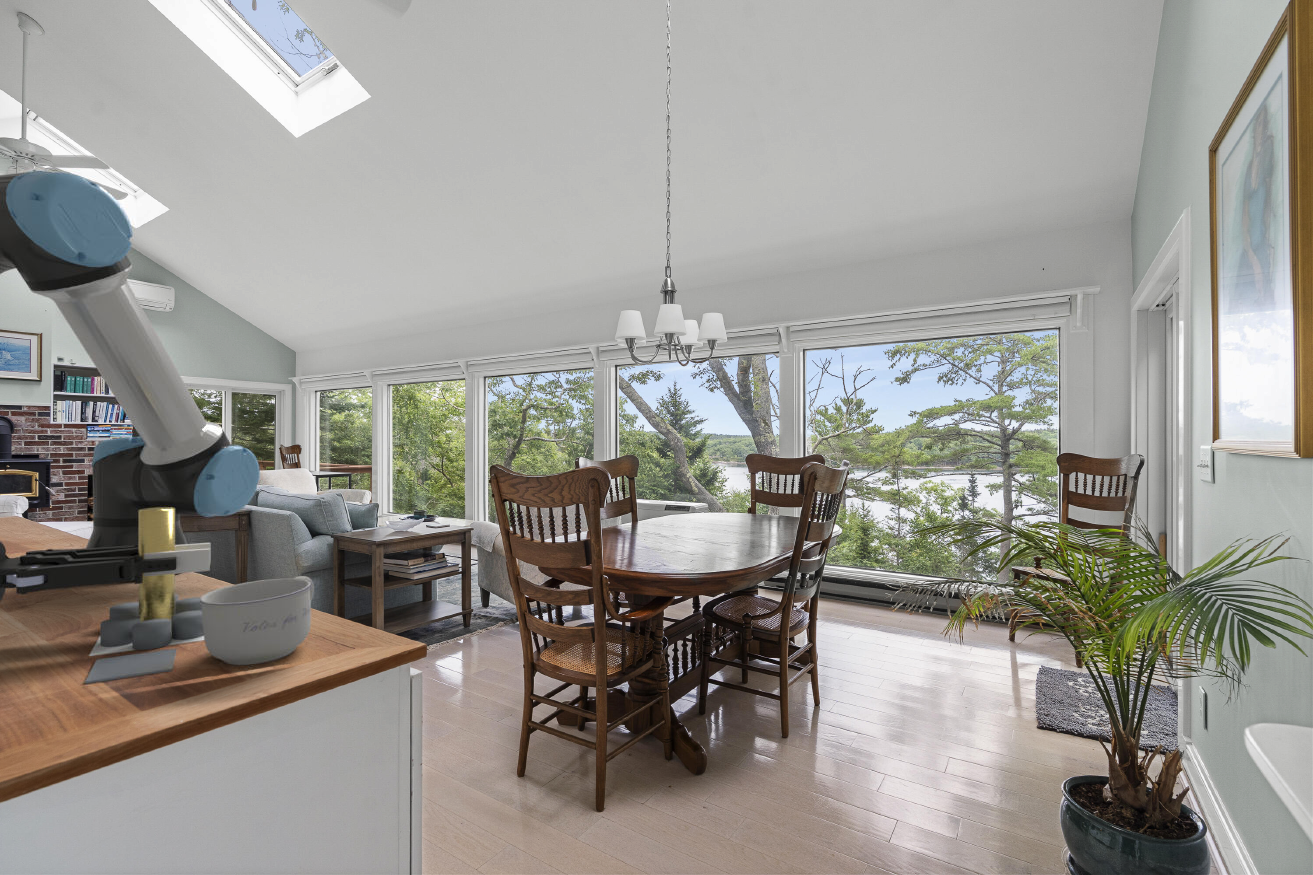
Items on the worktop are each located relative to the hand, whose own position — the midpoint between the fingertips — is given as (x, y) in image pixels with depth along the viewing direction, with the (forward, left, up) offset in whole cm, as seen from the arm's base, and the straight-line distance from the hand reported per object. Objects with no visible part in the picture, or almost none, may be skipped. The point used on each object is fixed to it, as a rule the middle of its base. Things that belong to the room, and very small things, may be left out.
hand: (209, 556), depth 84 cm
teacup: (+14, +6, -9) cm, 18 cm away
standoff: (0, -5, -9) cm, 10 cm away
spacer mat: (-1, -5, -9) cm, 11 cm away
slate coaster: (+13, -6, -9) cm, 17 cm away
